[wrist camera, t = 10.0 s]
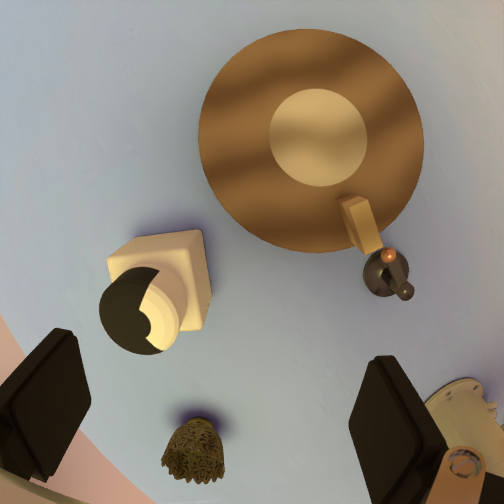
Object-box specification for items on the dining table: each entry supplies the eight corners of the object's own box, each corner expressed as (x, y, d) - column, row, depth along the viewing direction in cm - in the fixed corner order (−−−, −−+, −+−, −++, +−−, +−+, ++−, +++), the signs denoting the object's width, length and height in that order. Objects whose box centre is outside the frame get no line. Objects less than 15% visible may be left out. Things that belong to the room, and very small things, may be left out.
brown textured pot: (164, 407, 38) (150, 452, 30) (218, 401, 37) (212, 448, 29) (184, 442, 40) (175, 485, 32) (234, 438, 39) (232, 483, 31)
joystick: (411, 277, 32) (436, 298, 27) (374, 302, 33) (393, 327, 28) (386, 222, 31) (411, 235, 25) (346, 247, 32) (364, 266, 26)
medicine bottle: (147, 301, 33) (105, 366, 22) (133, 236, 31) (76, 279, 20) (212, 296, 33) (194, 365, 22) (201, 228, 31) (172, 269, 20)
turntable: (167, 86, 26) (147, 70, 20) (362, 15, 24) (383, -10, 18) (257, 279, 31) (258, 307, 25) (438, 200, 29) (471, 210, 23)
